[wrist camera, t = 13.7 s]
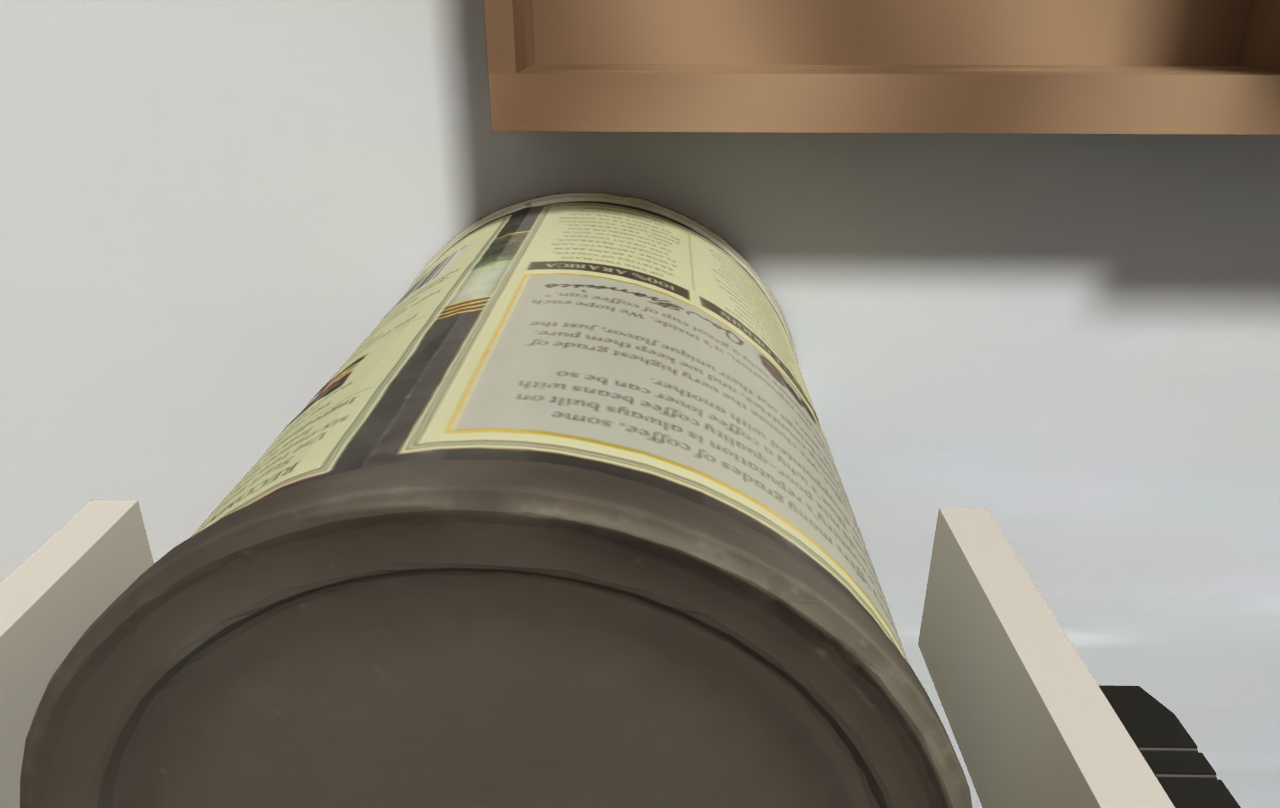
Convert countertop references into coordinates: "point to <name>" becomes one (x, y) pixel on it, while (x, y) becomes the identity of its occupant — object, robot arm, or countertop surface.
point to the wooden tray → (885, 66)
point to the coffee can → (520, 566)
